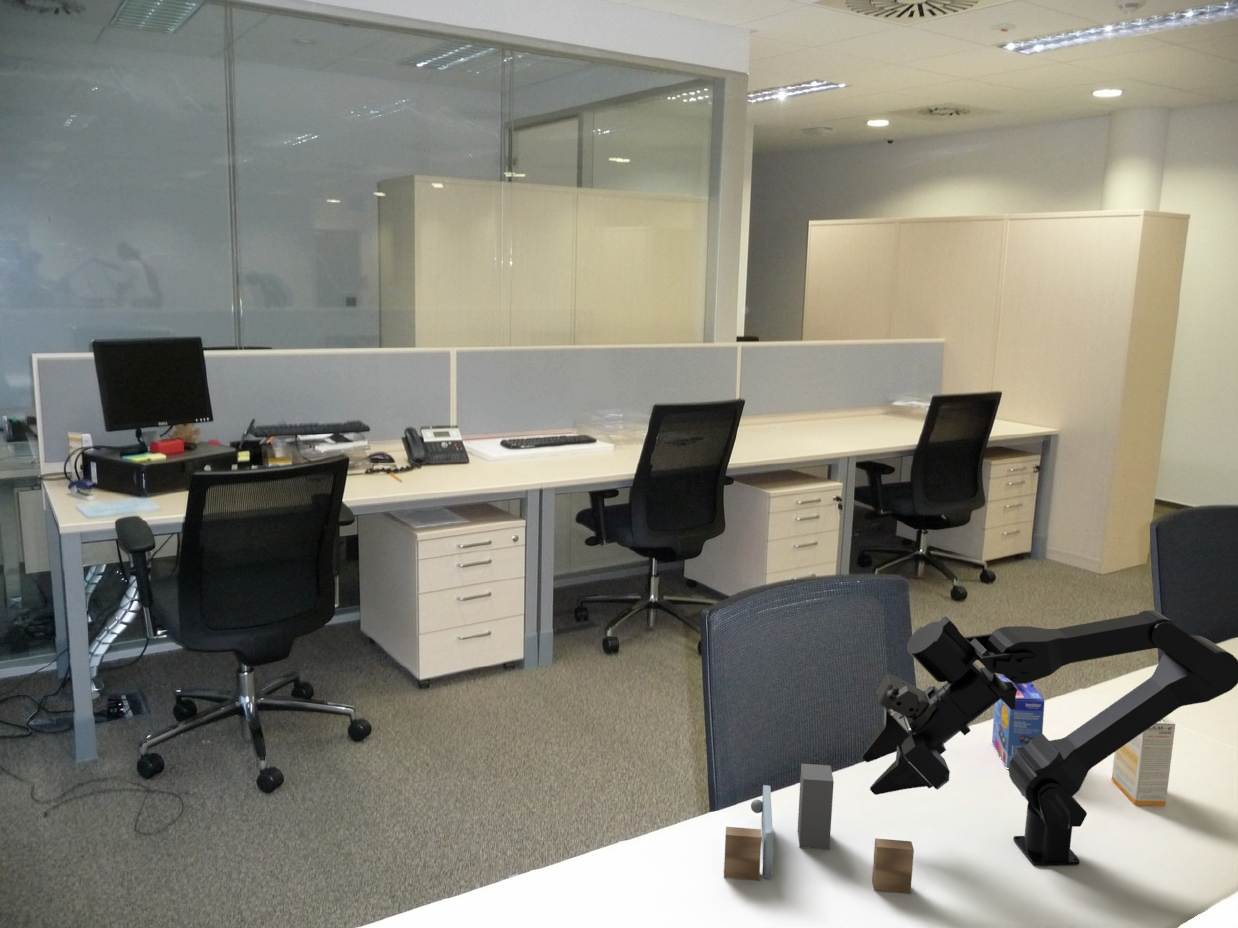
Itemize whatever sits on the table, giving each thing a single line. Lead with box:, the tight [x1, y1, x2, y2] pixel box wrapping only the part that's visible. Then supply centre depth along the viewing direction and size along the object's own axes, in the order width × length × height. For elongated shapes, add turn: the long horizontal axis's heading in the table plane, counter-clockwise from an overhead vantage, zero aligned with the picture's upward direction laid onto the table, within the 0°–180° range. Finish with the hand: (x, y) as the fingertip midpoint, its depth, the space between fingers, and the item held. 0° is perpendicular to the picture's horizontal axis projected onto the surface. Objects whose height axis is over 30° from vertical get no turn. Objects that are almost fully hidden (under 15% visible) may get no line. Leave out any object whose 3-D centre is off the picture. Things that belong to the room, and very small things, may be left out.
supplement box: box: [1111, 716, 1176, 807], centre depth 157 cm, size 8×5×13 cm, turn 179°
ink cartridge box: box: [991, 674, 1045, 768], centre depth 167 cm, size 10×6×14 cm, turn 174°
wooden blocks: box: [723, 826, 915, 894], centre depth 132 cm, size 23×2×6 cm, turn 83°
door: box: [750, 784, 775, 878], centre depth 139 cm, size 14×3×6 cm, turn 173°
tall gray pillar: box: [797, 763, 834, 851], centre depth 142 cm, size 4×4×10 cm
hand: (868, 774), depth 140 cm, fingers open, 9 cm apart
